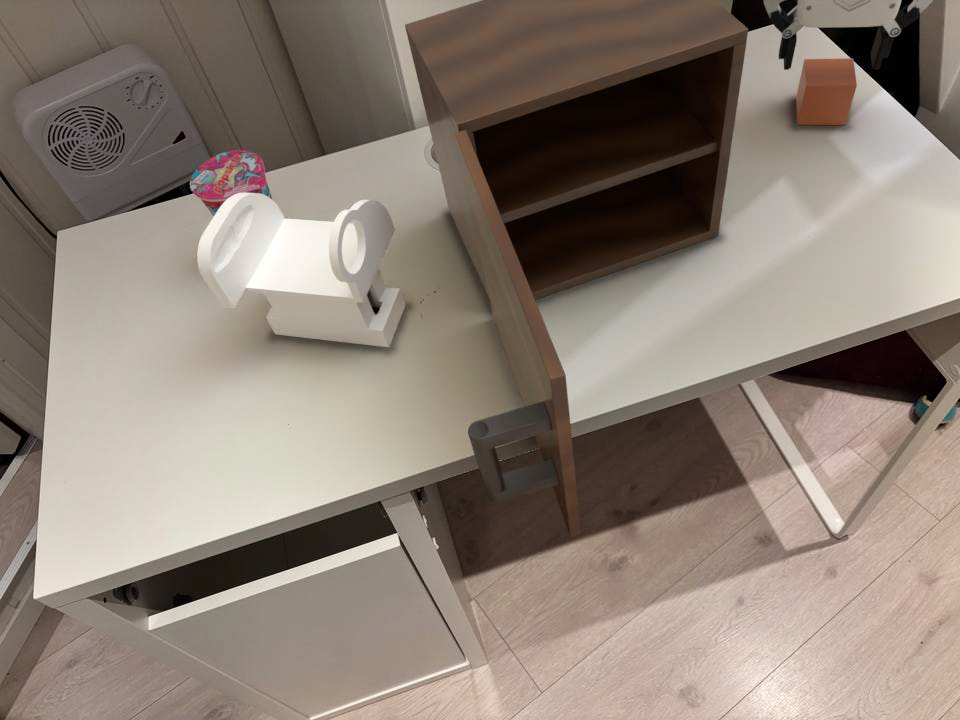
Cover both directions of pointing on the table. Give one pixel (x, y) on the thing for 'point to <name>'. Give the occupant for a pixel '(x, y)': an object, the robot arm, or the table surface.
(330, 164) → the table surface
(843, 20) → the robot arm
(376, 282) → the tape dispenser
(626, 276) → the table surface
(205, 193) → the cup
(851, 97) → the block
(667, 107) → the cupboard
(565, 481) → the cupboard door
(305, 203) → the table surface
